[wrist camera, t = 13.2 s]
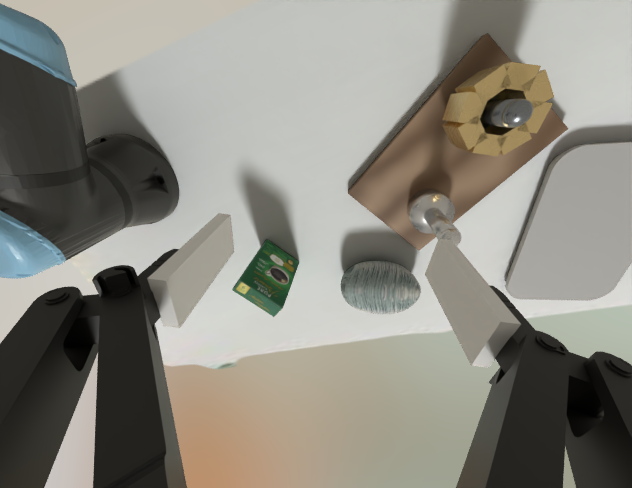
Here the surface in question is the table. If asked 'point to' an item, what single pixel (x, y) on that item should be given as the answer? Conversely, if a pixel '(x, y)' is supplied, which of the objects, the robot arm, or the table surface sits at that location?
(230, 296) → the table surface
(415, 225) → the stand rod
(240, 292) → the coffee box
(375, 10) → the table surface
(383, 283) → the grey marbled egg
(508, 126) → the metal peg stand
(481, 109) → the tan boxy piece
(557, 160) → the tablet
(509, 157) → the walnut plate
